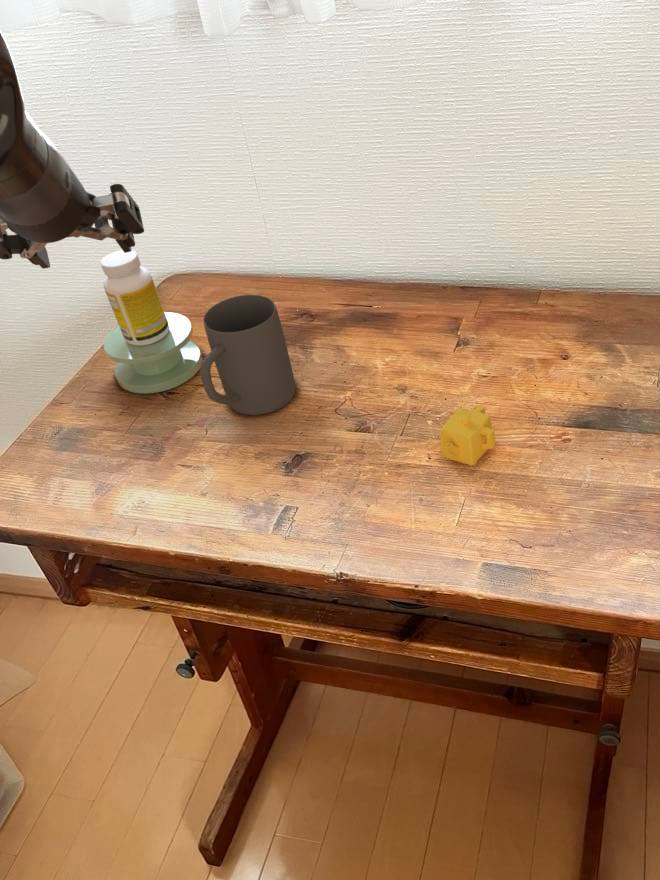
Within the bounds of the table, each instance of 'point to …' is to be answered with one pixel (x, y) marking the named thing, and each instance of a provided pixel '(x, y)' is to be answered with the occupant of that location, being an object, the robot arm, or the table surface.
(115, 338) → the stand
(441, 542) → the table surface
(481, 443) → the yellow snap cube
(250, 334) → the mug
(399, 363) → the table surface
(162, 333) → the pill bottle
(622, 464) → the table surface
